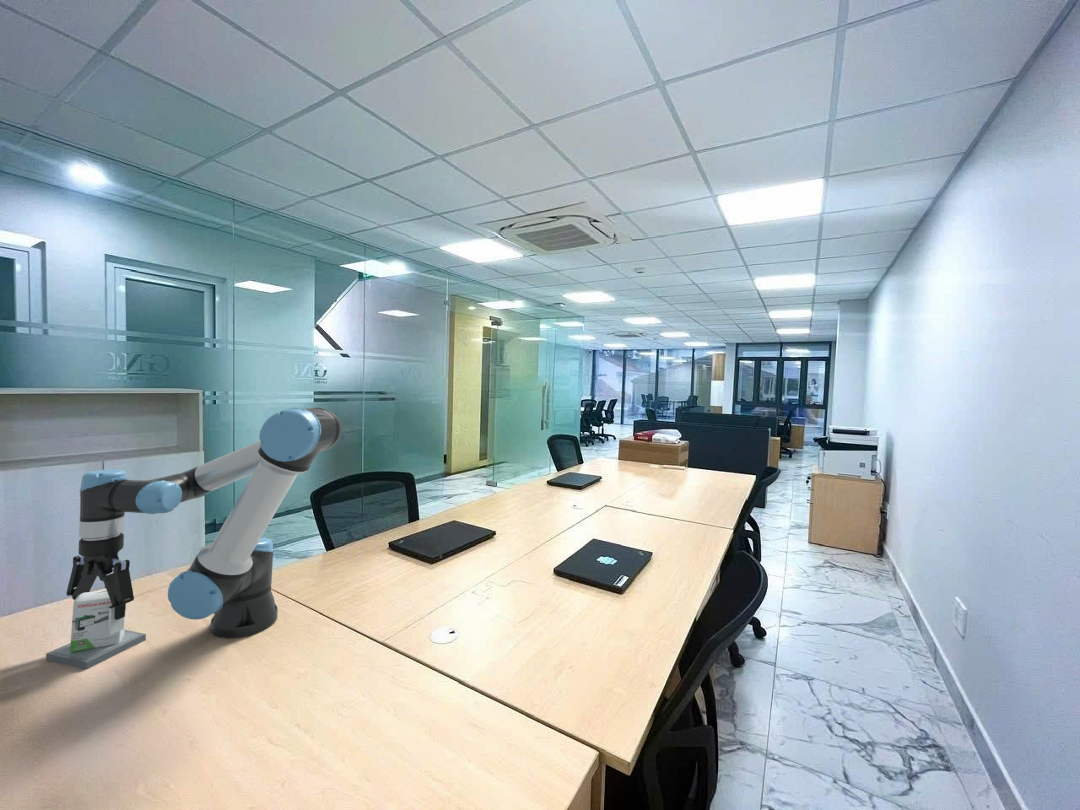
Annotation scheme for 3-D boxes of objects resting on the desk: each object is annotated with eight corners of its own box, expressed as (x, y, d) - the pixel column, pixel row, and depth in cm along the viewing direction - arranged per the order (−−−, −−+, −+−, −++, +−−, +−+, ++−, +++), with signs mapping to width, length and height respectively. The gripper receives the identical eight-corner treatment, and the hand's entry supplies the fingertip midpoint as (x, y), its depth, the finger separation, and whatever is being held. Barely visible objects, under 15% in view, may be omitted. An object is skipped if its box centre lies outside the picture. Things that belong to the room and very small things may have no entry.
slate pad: (145, 639, 107) (145, 633, 107) (86, 669, 96) (86, 662, 96) (108, 632, 110) (108, 626, 110) (45, 659, 98) (46, 653, 98)
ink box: (68, 653, 98) (71, 602, 98) (75, 642, 102) (78, 593, 102) (120, 643, 103) (123, 594, 103) (125, 633, 107) (127, 586, 107)
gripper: (156, 535, 104) (153, 627, 104) (85, 525, 108) (82, 613, 108) (120, 546, 96) (117, 644, 97) (45, 535, 101) (42, 629, 101)
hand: (98, 628), depth 103 cm, fingers open, 10 cm apart
